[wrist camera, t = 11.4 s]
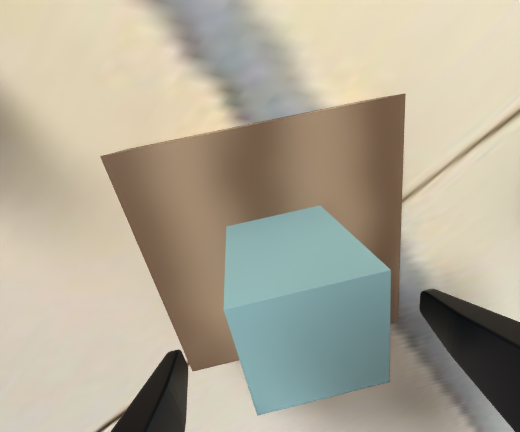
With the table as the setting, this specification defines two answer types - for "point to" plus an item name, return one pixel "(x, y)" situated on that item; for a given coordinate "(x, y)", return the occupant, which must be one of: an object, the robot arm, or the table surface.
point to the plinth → (257, 202)
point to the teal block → (305, 308)
